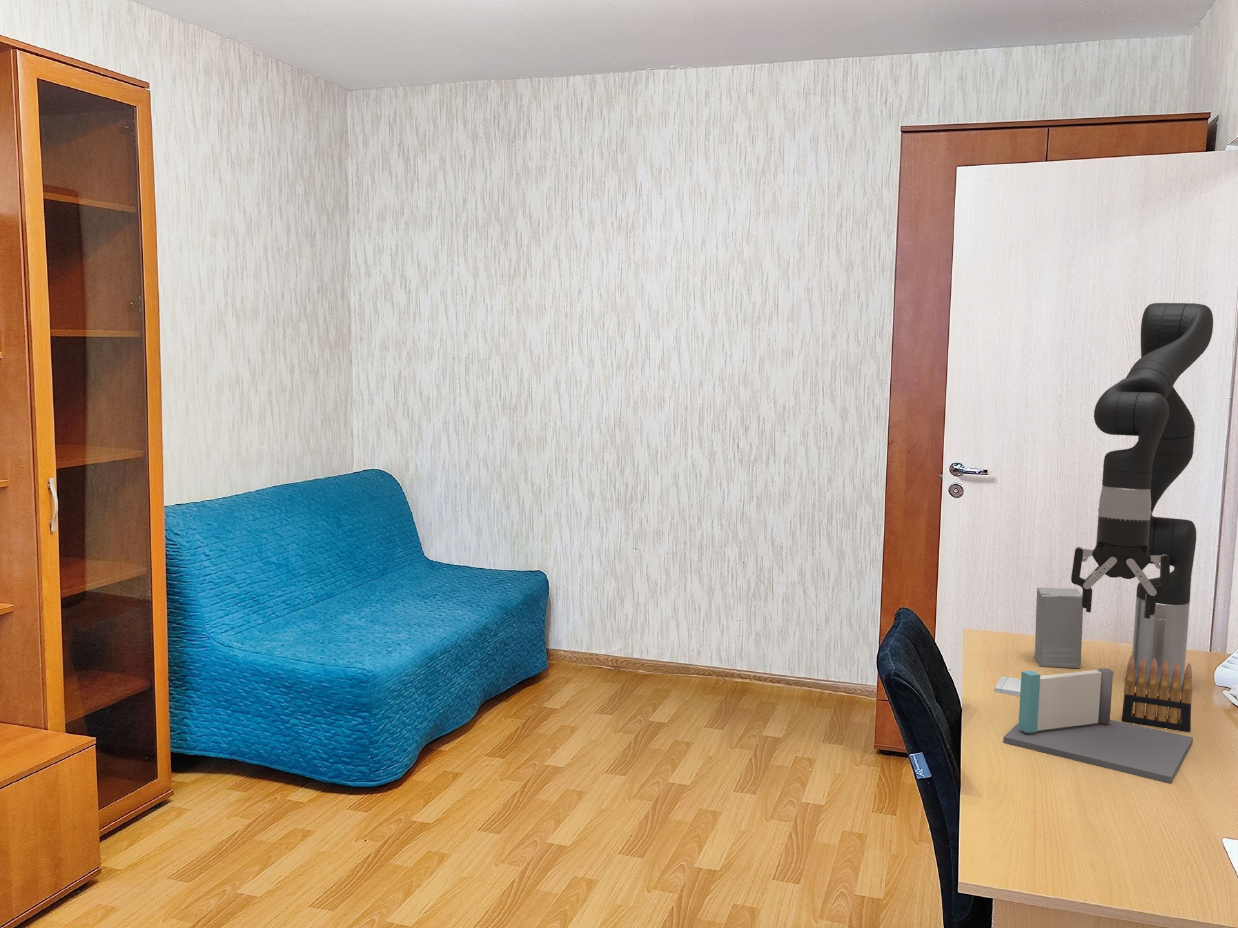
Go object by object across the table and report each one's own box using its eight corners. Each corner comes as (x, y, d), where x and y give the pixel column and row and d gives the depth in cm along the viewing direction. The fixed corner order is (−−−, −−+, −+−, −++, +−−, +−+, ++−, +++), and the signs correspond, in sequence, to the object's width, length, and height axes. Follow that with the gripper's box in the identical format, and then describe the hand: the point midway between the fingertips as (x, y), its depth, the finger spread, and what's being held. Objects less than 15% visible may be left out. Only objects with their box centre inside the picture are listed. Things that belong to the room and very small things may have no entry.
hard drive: (1070, 686, 192) (1002, 674, 199) (1064, 698, 186) (994, 686, 192) (1069, 694, 193) (1001, 682, 199) (1064, 707, 186) (994, 694, 192)
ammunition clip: (1189, 728, 174) (1195, 662, 173) (1190, 732, 172) (1195, 665, 171) (1121, 718, 179) (1126, 653, 178) (1121, 721, 177) (1125, 656, 176)
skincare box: (1074, 660, 212) (1078, 587, 210) (1081, 670, 205) (1086, 595, 203) (1031, 657, 214) (1036, 584, 212) (1037, 667, 207) (1042, 592, 205)
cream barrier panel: (1102, 717, 175) (1106, 662, 174) (1112, 722, 173) (1116, 666, 172) (1017, 727, 170) (1021, 671, 169) (1027, 733, 168) (1030, 675, 166)
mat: (1037, 708, 183) (1037, 703, 183) (1192, 742, 168) (1193, 737, 168) (1003, 742, 167) (1003, 736, 167) (1171, 783, 152) (1171, 776, 152)
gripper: (1171, 517, 162) (1164, 616, 163) (1075, 510, 168) (1068, 605, 168) (1176, 521, 155) (1169, 624, 156) (1076, 513, 161) (1069, 613, 162)
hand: (1117, 614), depth 162 cm, fingers open, 8 cm apart
